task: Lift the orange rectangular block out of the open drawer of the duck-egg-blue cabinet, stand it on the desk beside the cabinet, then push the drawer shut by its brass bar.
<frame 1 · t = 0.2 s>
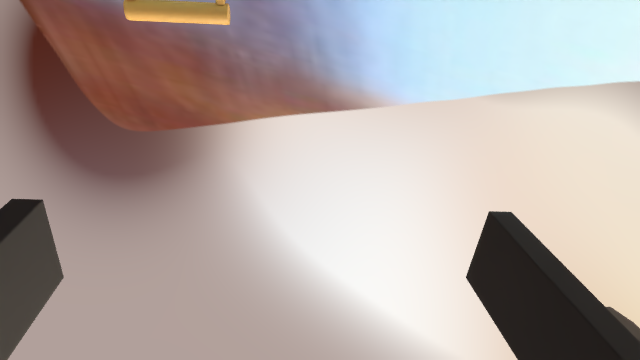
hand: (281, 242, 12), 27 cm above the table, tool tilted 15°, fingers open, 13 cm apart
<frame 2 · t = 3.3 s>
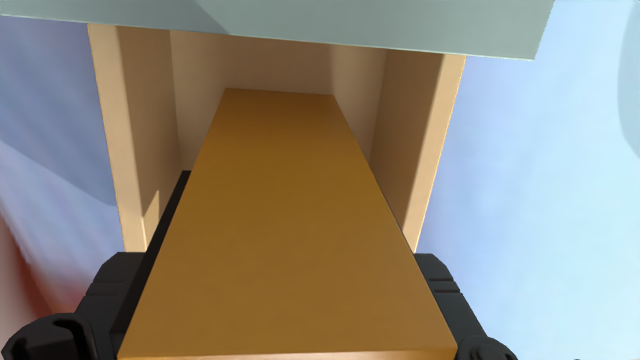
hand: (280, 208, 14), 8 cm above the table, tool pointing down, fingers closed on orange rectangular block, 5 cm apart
drawer: (276, 199, 18), point 5 cm above the table, slide at 12.5 cm, touching orange rectangular block
orange rectangular block: (278, 141, 19), point 2 cm above the table, touching drawer, gripper
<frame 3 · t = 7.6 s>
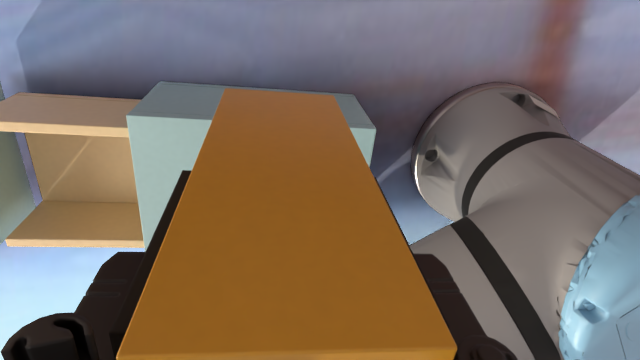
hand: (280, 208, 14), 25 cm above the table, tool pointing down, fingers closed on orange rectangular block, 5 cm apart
drawer: (59, 169, 33), point 5 cm above the table, slide at 12.5 cm
orange rectangular block: (277, 141, 19), point 18 cm above the table, touching gripper
cabinet: (258, 155, 39), on the table
when the fingers open (6 cm above the table, at t = 12.2 s): orange rectangular block stays where it is, on the table.
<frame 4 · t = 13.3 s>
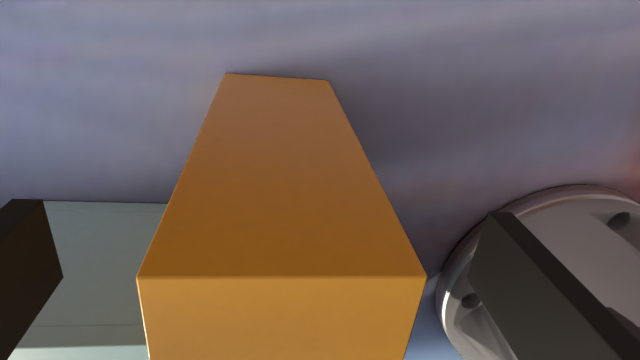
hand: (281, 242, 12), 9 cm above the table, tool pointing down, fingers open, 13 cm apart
orange rectangular block: (275, 125, 20), on the table
cabinet: (195, 295, 25), on the table
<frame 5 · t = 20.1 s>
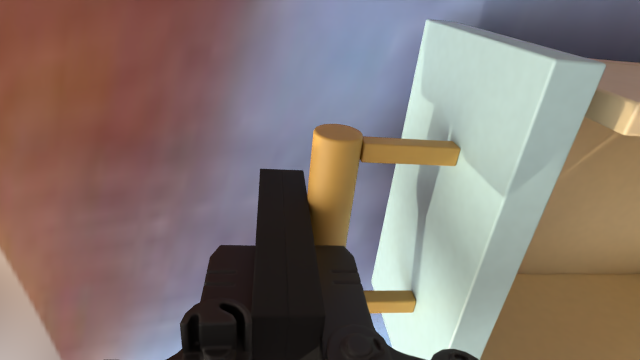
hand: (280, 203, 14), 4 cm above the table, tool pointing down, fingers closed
drawer: (576, 223, 15), point 5 cm above the table, slide at 11.6 cm, touching gripper
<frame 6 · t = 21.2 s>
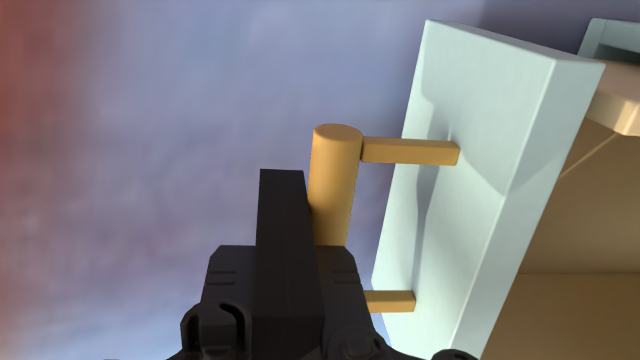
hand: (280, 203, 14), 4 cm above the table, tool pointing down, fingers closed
drawer: (576, 223, 15), point 5 cm above the table, slide at 6.1 cm, touching gripper
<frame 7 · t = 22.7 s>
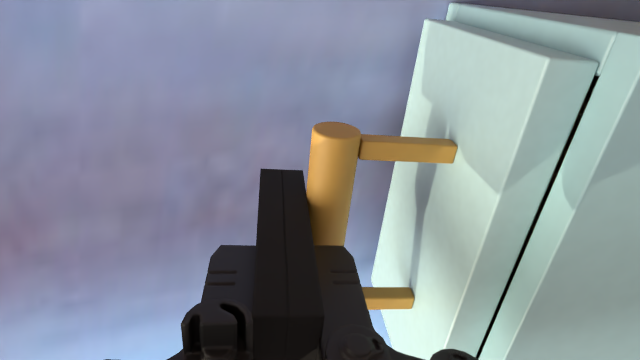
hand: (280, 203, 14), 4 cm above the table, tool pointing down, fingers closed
drawer: (574, 221, 15), point 5 cm above the table, slide at 0.0 cm, touching gripper
cabinet: (582, 170, 19), on the table
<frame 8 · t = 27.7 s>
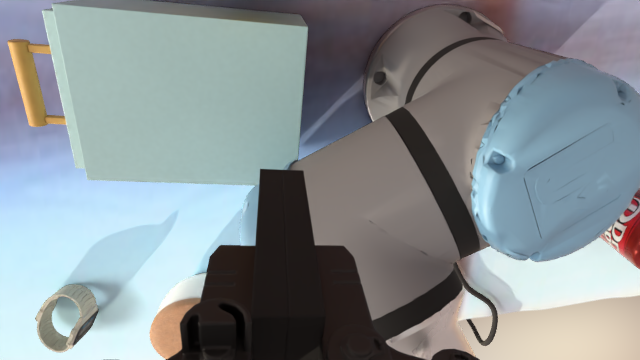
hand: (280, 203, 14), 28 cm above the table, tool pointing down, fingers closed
soda can: (589, 191, 52), on the table
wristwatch: (73, 305, 51), on the table
trinket box: (207, 289, 52), on the table
drawer: (154, 89, 35), point 5 cm above the table, slide at 0.0 cm
cabinet: (207, 79, 39), on the table
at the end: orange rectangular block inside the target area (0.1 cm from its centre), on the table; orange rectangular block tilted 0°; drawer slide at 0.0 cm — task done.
